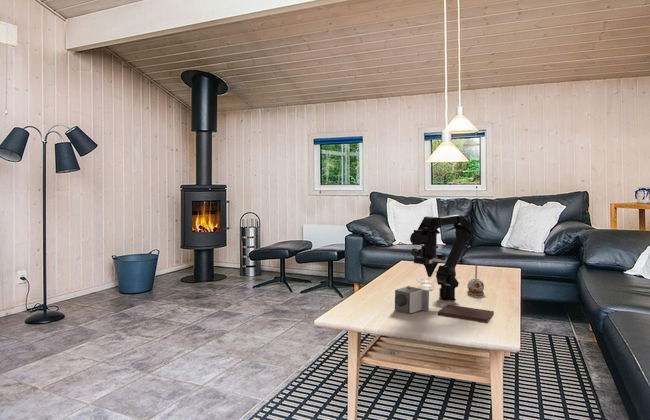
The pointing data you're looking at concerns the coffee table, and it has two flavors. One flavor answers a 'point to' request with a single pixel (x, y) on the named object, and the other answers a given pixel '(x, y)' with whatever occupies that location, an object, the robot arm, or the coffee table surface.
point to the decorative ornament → (475, 285)
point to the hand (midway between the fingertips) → (429, 276)
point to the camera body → (403, 298)
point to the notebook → (466, 313)
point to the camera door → (419, 301)
